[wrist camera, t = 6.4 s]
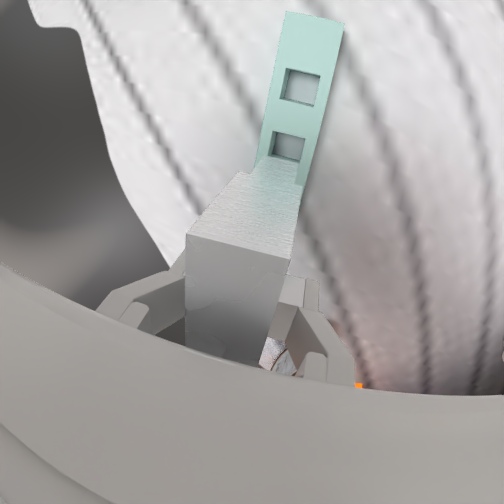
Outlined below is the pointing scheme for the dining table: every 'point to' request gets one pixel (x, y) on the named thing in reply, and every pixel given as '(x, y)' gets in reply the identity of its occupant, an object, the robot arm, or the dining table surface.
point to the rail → (306, 61)
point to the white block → (240, 261)
